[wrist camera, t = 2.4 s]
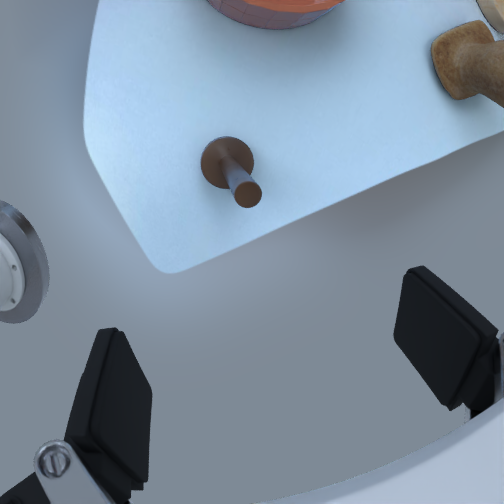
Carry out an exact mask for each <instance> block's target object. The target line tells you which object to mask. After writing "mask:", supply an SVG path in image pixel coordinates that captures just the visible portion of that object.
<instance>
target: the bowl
mask: <svg viewBox="0 0 504 504" xmlns="http://www.w3.org/2000/svg"><path fill="white" fill-rule="evenodd" d="M207 1H208V2H209V3H210V4H211V5H212V6H213V7H214V8H215V9H217V10H218V11H219V12H221V13H222V14H224V15H226V16H227V17H229V18H231V19H233V20H235V21H238V22H240V23H243V24H246V25H250V26H254V27H259V28H264V29H289V28H295V27H299V26H303V25H305V24H309V23H311V22H312V21H314V20H316V19H318V18H319V17H321V16H323V15H324V14H326V13H327V12H329V11H330V10H332V9H333V8H335V7H336V6H338V5H339V4H341V3H342V2H344V1H345V0H207Z"/></svg>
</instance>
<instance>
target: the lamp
mask: <svg viewBox="0 0 504 504" xmlns="http://www.w3.org/2000/svg"><path fill="white" fill-rule="evenodd" d="M477 2H478V4H479V6H480V8H481V10H482V12H483V14H484V16H485V17H486V19H487V20H488V22H489V23H490V24H491V25H492V26H493V27H494V28H495V29H496V30H497V31H498V32H500V33H503V34H504V0H477Z"/></svg>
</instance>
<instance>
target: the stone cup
mask: <svg viewBox="0 0 504 504" xmlns="http://www.w3.org/2000/svg"><path fill="white" fill-rule="evenodd" d="M431 56H432V60H433V63H434V67H435V69H436V72H437V75H438V77H439V79H440V81H441V83H442V85H443V87H444V88H445V89H446V90H447V91H448V92H449V93H450V96H451V97H452V98H453V99H456V100H462V99H466V98H469V97H472V96H474V95H476V94H478V93H480V94H483V95H485V96H486V97H488V98H489V99H491V100H493V101H494V102H496V103H497V104H498V105H500V106H501V107H503V108H504V40H500V41H495V40H494V38H493V36H492V34H491V32H490V30H489V29H488V27H487V26H486V24H485V23H484V22H483V21H480V20H475V21H472V22H468V23H465V24H463V25H461V26H458V27H455V28H453V29H451V30H449V31H447V32H445V33H443V34H442V35H440V36H439V37H437V38H436V39H435V40H434V42H433V43H432V45H431Z"/></svg>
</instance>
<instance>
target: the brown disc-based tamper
mask: <svg viewBox="0 0 504 504" xmlns="http://www.w3.org/2000/svg"><path fill="white" fill-rule="evenodd" d="M253 166H254V159H253V154H252V152H251V150H250V148H249V147H248V146H247V145H246V144H245V143H244V142H242V141H241V140H239V139H237V138H234V137H228V136H226V137H219V138H217V139H214V140H213V141H211V142H210V143H209V144H208V145H207V146H206V147H205V149H204V151H203V153H202V156H201V169H202V172H203V175H204V177H205V178H206V179H207V181H208V182H210V183H211V184H212V185H214V186H216V187H219V188H223V189H230V190H231V192H232V194H233V196H234V198H235V201H236V202H237V204H238V205H240V206H241V207H244V208H251V207H253V206H255V205H257V204H258V203H259V201H260V200H261V197H262V191H261V188H260V187H259V185H258V184H257V183H256V182H255V181H254V180H253V179H252V177H251V176H250V175H251V173H252V170H253Z"/></svg>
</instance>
